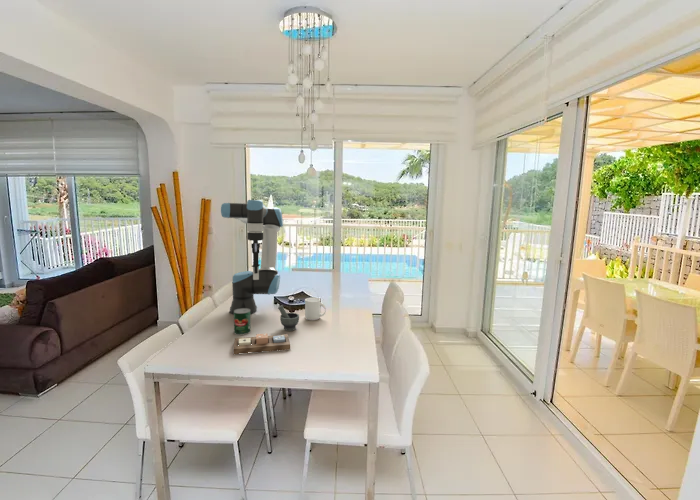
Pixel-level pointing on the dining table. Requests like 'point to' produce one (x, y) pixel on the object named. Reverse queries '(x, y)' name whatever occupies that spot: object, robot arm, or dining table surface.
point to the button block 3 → (278, 339)
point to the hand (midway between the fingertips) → (256, 279)
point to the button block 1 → (244, 341)
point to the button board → (261, 345)
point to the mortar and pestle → (288, 319)
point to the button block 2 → (261, 338)
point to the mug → (313, 308)
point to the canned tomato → (242, 321)
